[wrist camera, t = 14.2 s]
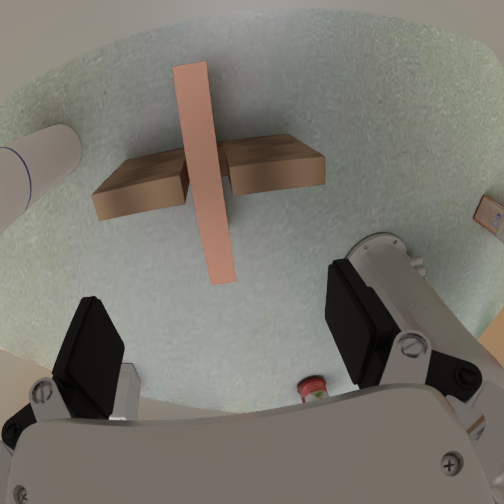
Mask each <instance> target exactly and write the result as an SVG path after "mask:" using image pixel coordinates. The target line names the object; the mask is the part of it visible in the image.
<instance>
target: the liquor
mask: <svg viewBox="0 0 504 504" xmlns="http://www.w3.org/2000/svg"><path fill="white" fill-rule="evenodd" d="M325 385H326V382H325V380H323V379H319V378H315V377H314V378H309V379H307V380H305V381H304V382H303V383H302V384H301V385H300V386H299V388H298V390H297V391H298V393H299V394H300V395H301V398H302V402H303V403H305V402H310V401H314V400H319V399H323V398H328V397H329V395H328V392H327V390H326V387H325Z"/></svg>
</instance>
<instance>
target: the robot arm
mask: <svg viewBox="0 0 504 504" xmlns="http://www.w3.org/2000/svg"><path fill="white" fill-rule="evenodd" d="M421 264H423V258H422V257H421V256H420V257H416V258H413V259H412V258H410V257H409V256H408V255H407V250H406V247H405V245H404V243H403V242H402V241H401V240H400V239H399V238H398V237H397V236H395V235H393V234H389V233H380V234H375V235H372V236H370V237H368V238H366V239H364V240H363V241H361V242H360V243H359V244H357V245H356V246H355V247H354V248H353V249H352V250H351V252H350V253H349V254H348V256H347V257H346V258H344V259H338V260H334V261H333V262H332V264H330V265H329V267H328V281H327V294H326V306H325V319H326V322H327V324H328V327H329V329H330V331H331V333H332V336H333V338H334V340H335V343H336V345H337V347H338V350H339V352H340V354H341V356H342V359H343V361H344V363H345V366H346V368H347V371H348V373H349V375H350V378H351V380H352V382H353V384H354V385H356V384H358V386H359V389H360V390H356V391H351V392H348V393H344V394H340V395H336V396H332V397H328V398H323V399H319V400H314V401H310V402H305V403H301V404H296V405H291V406H286V407H280V408H275V409H269V410H263V411H256V412H250V413H242V414H235V415H226V416H217V417H207V418H194V419H179V420H146V421H145V420H143V421H142V420H109V416H110V415H112V413H113V408H114V402H115V396H116V390H117V385H118V379H119V374H120V369H121V364H122V359H123V355H124V349H125V348H124V343H123V341H122V339H121V337H120V336H119V334H118V332H117V330H116V328H115V326H114V325H113V323H112V321H111V319H110V317H109V315H108V313H107V311H106V309H105V307H104V306H103V304H102V302H101V300H100V299H97V297H95V296H91V297H83V298H82V299H81V301H80V303H79V306H78V308H77V310H76V312H75V314H74V317H73V319H72V321H71V324H70V326H69V329H68V331H67V333H66V336H65V338H64V341H63V343H62V346H61V349H60V351H59V354H58V356H57V359H56V362H55V365H54V367H53V370H52V374H53V377H52V379H51V378H48V377H45V378H41V379H39V380H37V381H36V382H35V383H34V384H33V386H32V387H31V389H30V392H29V400H30V403H29V404H28V405H26V406H25V407H24V408H23V409H21V410H20V411H19V412H17V413H16V414H15V415H14V416H12V417H11V418H10V419H9V420H7V421H6V422H5V424H4V426H3V428H2V434H1V435H2V441H1V440H0V504H494V500H493V497H494V498H495V500H496V501H497V502H498V503H500V504H504V369H503V367H502V366H501V364H500V363H499V362H498V361H497V360H496V358H495V357H494V356H493V355H491V353H489V351H487V350H486V349H485V348H484V347H483V346H482V345H481V344H480V343H479V342H478V341H477V340H476V339H475V338H474V336H473V335H472V334H471V333H470V332H469V331H468V330H467V329H466V328H465V327H464V325H463V324H462V323H461V322H460V321H459V319H458V318H457V317H456V316H455V315H454V314H453V312H452V311H451V310H450V309H449V307H448V306H447V305H446V304H445V303H444V302H443V300H442V299H441V298H440V297H439V296H438V294H437V293H436V292H435V291H434V290H433V289H432V287H431V286H430V285H429V284H428V283H427V282H426V281H425V279H424V278H423V276H425V274H426V270H425V267H424V266H419V267H415V268H414V266H415V265H416V266H417V265H421ZM492 495H493V497H492Z"/></svg>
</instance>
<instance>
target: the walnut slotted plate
mask: <svg viewBox="0 0 504 504" xmlns="http://www.w3.org/2000/svg"><path fill="white" fill-rule="evenodd" d="M216 145H217V152H218V160H219V167H220V174H221V176H229V181H230V185H231V189H232V194H233V196H237V195H244V194H251V193H258V192H266V191H273V190H281V189H289V188H297V187H306V186H315V185H324V184H325V156H323V155H321V154H320V153H318V152H317V151H315V150H314V149H312V148H311V147H309V146H307V145H306V144H304V143H303V142H301V141H299V140H298V139H296V138H294V137H293V136H291V135H289V134H283V135H272V136H263V137H254V138H245V139H237V140H230V141H223V142H216ZM189 182H190V179H189V173H188V167H187V162H186V156H185V150H184V148H181V149H176V150H171V151H166V152H161V153H156V154H151V155H147V156H143V157H138V158H134V159H130V160H126V161H125V162H124V163H123V164H121V165H120V166H119V167H118V168H117V169H116V170H115V171H114V172H113V173H112V174H111V175H110V176H109V177H108V178H107V179H106V180H105V181H104V182H103V183H102V184H101V185H100V187H99V188H98V189H97V190H96V191H95V192H94V193H93V194H92V195H91V197H92V200H93V203H94V206H95V209H96V212H97V216H98V219H99V221H102V220H107V219H112V218H116V217H121V216H126V215H130V214H135V213H140V212H145V211H150V210H155V209H161V208H166V207H171V206H177V205H182V204H185V203H186V197H187V192H188V186H189Z"/></svg>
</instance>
